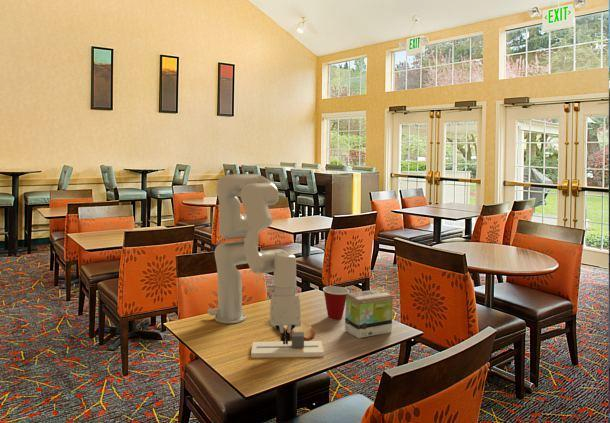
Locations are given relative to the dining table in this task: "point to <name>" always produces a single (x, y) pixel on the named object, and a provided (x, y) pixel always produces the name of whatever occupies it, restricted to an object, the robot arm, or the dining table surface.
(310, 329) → the bread slice
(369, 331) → the tea box
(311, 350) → the console board
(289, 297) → the robot arm
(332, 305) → the plastic cup
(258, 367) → the dining table surface
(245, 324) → the dining table surface
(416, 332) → the dining table surface
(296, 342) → the slider tab
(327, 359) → the dining table surface
